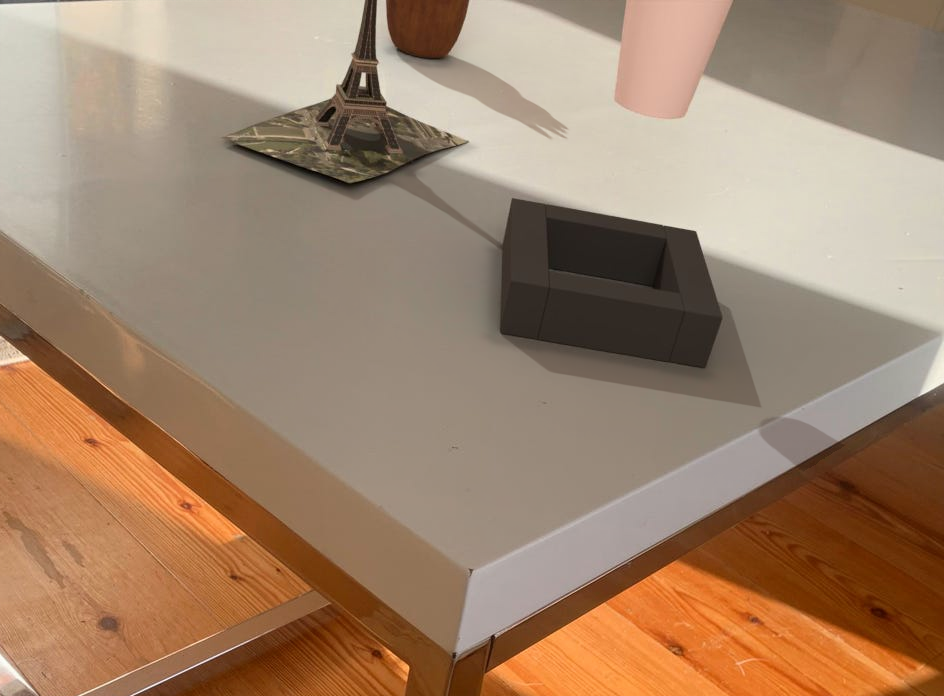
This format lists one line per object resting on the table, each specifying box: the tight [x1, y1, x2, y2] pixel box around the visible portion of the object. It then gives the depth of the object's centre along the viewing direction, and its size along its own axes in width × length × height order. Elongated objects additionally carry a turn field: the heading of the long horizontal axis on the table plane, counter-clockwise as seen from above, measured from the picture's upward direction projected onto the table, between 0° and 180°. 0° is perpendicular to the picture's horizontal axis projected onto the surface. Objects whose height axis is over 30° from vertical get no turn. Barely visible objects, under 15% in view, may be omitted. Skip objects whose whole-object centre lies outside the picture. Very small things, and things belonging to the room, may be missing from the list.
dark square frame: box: [499, 197, 724, 369], centre depth 62 cm, size 11×11×3 cm
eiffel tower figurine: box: [220, 0, 470, 184], centre depth 72 cm, size 15×10×13 cm
